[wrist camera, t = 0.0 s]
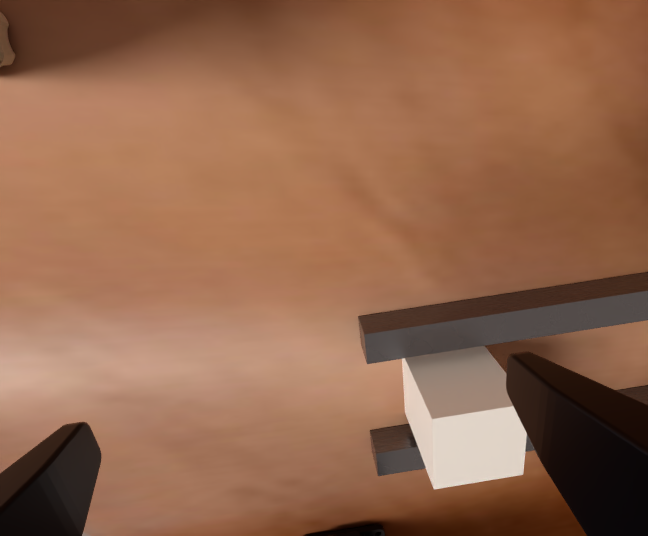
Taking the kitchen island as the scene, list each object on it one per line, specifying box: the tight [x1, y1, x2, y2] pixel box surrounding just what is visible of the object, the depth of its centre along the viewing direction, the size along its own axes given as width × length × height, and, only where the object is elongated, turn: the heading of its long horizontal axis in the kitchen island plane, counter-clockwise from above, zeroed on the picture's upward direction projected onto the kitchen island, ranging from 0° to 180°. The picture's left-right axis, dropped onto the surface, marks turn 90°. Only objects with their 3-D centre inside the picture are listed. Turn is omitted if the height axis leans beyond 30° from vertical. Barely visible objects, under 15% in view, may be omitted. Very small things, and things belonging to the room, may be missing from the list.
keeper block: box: [402, 346, 527, 489], centre depth 25 cm, size 5×5×6 cm
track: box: [358, 272, 648, 476], centre depth 26 cm, size 11×28×5 cm, turn 97°
